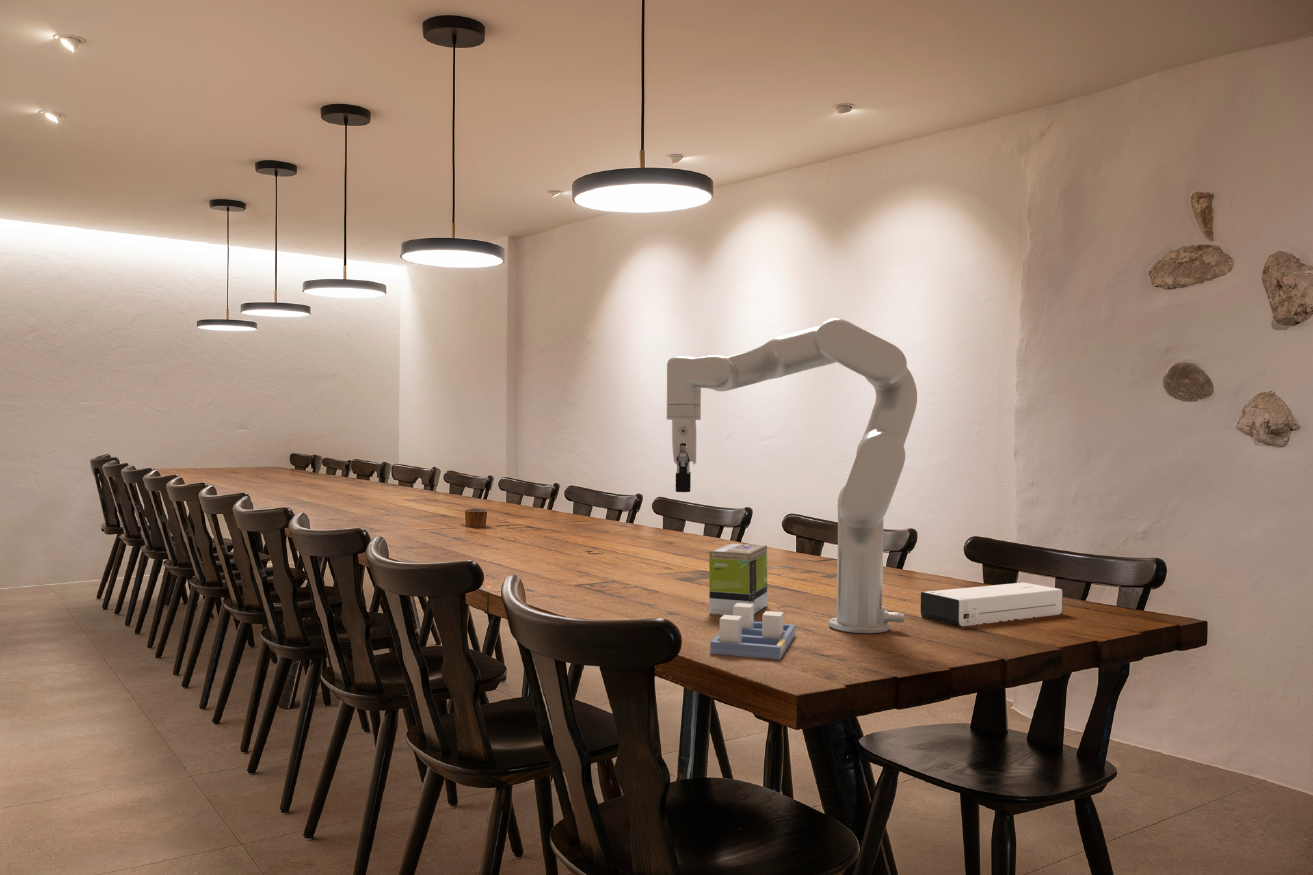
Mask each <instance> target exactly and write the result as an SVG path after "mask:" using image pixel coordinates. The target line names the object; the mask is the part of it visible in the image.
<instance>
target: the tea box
mask: <svg viewBox="0 0 1313 875" xmlns="http://www.w3.org/2000/svg"><path fill="white" fill-rule="evenodd" d="M708 559H709V560H708V561H709V562H708V563H709V564H708V567H709V572H708V573H709V574H708V580H709V584H708V586H709V587H708V588H709V594H708V595H709V596H708V597H709V600H708V601H709V605H708V607H709V608H708V609H709V613H712V614H711V615H717V614H719V616H723V615H733V606H734V605H735V604H736V603H747V604H754V615H755V614H756V613H758V612H759V611H761V610H762V609H764V608H765V607H767V606H768V600H769V598H768V597H769V596H768V545H765V544H752V543H751V544H750V543H727V544H724V545H722V546H720V547H717V548H715V549H712V550H709V558H708Z"/></svg>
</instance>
